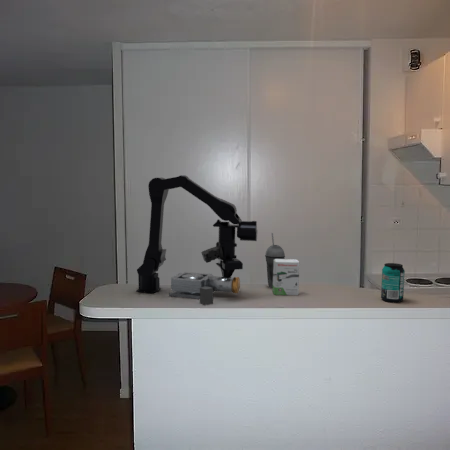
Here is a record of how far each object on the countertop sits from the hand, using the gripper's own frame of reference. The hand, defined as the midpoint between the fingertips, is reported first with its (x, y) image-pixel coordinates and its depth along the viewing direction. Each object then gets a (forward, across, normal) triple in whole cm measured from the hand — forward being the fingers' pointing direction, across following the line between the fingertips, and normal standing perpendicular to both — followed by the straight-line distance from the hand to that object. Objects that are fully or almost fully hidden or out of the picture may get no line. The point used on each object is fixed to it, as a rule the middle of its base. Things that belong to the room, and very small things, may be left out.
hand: (225, 284), depth 173 cm
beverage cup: (+3, -5, +20) cm, 21 cm away
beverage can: (+2, +22, +51) cm, 56 cm away
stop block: (+3, +11, -10) cm, 15 cm away
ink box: (+3, +5, +20) cm, 21 cm away
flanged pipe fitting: (+2, 0, -7) cm, 7 cm away
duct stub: (+3, -2, -11) cm, 12 cm away
